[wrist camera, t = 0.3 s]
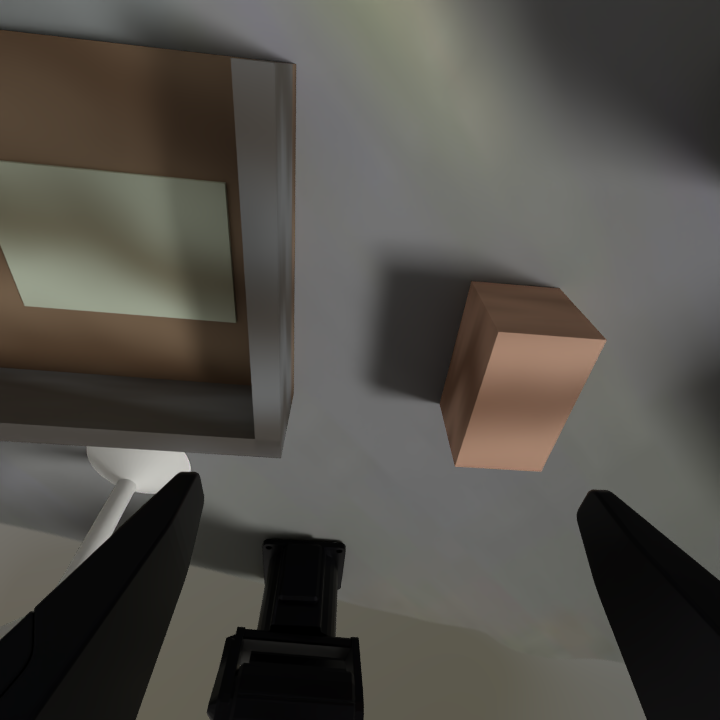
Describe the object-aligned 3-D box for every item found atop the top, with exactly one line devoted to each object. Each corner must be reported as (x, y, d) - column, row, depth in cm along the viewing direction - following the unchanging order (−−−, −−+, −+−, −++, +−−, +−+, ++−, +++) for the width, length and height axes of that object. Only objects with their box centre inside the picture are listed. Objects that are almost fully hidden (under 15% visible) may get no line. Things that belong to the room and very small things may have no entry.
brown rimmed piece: (293, 393, 25) (280, 458, 21) (-27, 370, 24) (-107, 434, 20) (295, 64, 16) (274, 62, 12) (-220, 4, 15) (-443, -21, 11)
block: (511, 407, 26) (541, 471, 22) (439, 402, 26) (455, 466, 21) (558, 287, 21) (606, 340, 17) (470, 279, 21) (498, 332, 17)
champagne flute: (65, 455, 28) (-646, 1399, 8) (126, 408, 26) (-659, 1567, 6) (150, 505, 31) (-216, 1279, 11) (212, 468, 29) (-113, 1359, 9)
